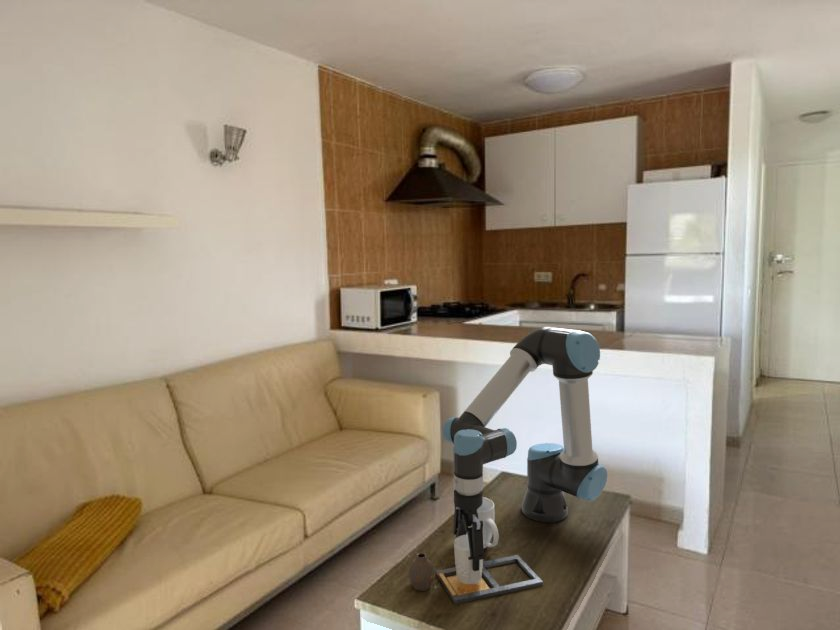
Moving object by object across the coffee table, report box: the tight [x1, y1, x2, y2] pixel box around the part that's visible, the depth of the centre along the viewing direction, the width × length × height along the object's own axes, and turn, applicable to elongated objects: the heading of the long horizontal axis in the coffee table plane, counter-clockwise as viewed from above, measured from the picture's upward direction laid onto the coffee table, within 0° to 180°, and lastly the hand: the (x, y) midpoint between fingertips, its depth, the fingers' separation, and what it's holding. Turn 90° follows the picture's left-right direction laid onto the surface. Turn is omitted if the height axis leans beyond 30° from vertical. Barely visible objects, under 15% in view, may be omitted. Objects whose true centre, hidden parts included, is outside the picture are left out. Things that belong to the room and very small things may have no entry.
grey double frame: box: [435, 554, 544, 605], centre depth 154 cm, size 25×14×1 cm, turn 108°
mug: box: [467, 496, 500, 549], centre depth 169 cm, size 15×11×13 cm
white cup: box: [453, 535, 484, 584], centre depth 151 cm, size 8×8×10 cm
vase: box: [408, 552, 436, 592], centre depth 151 cm, size 7×7×9 cm
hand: (468, 571), depth 152 cm, fingers closed on white cup, 8 cm apart
